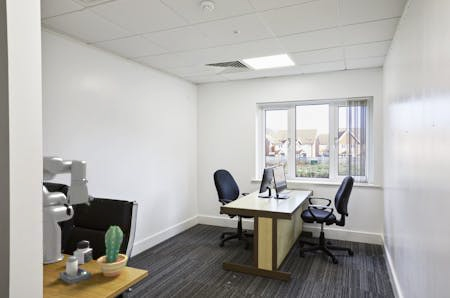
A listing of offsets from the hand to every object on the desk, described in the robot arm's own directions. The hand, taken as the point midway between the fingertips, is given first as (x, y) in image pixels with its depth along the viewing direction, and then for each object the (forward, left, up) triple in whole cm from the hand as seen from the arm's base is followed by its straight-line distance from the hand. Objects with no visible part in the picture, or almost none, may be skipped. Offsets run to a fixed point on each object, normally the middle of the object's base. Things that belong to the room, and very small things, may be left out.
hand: (77, 213), depth 161 cm
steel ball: (+16, -4, -30) cm, 34 cm away
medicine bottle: (-6, +6, -30) cm, 32 cm away
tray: (+13, -7, -30) cm, 34 cm away
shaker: (+11, -8, -30) cm, 33 cm away
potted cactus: (+22, +8, -30) cm, 38 cm away
